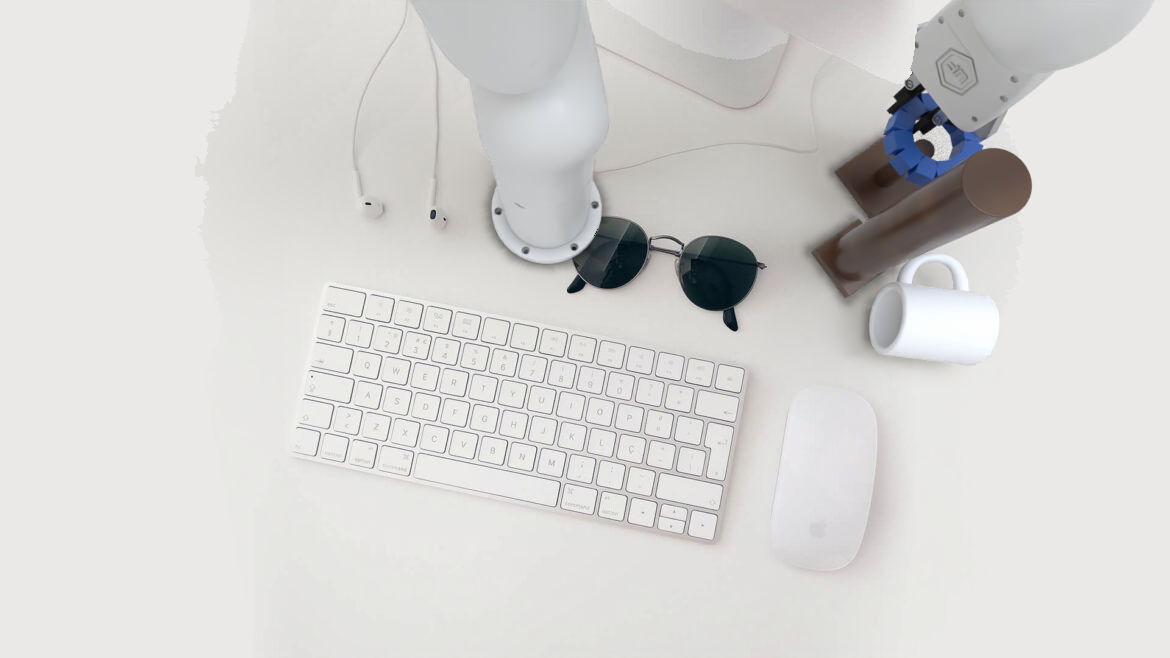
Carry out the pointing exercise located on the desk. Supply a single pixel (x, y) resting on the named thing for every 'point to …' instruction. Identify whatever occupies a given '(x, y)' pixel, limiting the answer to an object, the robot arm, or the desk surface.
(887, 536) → the desk surface
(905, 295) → the mug
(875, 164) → the post stand
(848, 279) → the brown cylinder
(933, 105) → the ring
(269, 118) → the desk surface
